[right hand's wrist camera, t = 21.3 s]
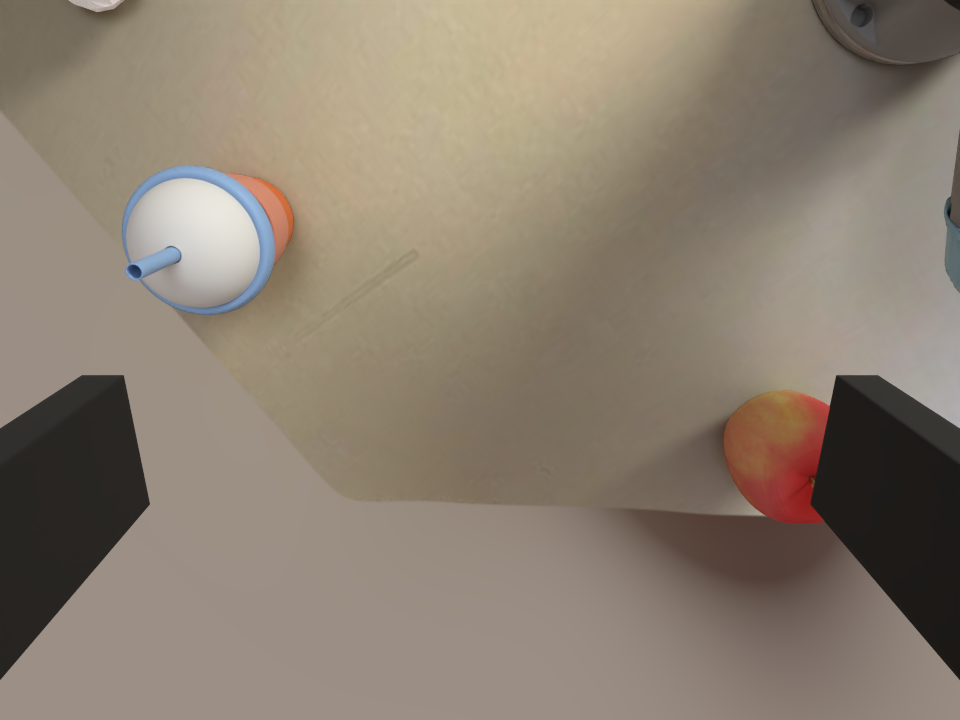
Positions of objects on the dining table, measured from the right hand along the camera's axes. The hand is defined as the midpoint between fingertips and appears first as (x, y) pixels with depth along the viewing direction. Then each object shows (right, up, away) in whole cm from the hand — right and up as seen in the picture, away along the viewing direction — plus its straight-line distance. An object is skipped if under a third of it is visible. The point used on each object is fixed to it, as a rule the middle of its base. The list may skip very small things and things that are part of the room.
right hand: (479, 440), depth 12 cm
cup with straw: (-17, +12, +37) cm, 43 cm away
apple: (+24, -4, +43) cm, 49 cm away
